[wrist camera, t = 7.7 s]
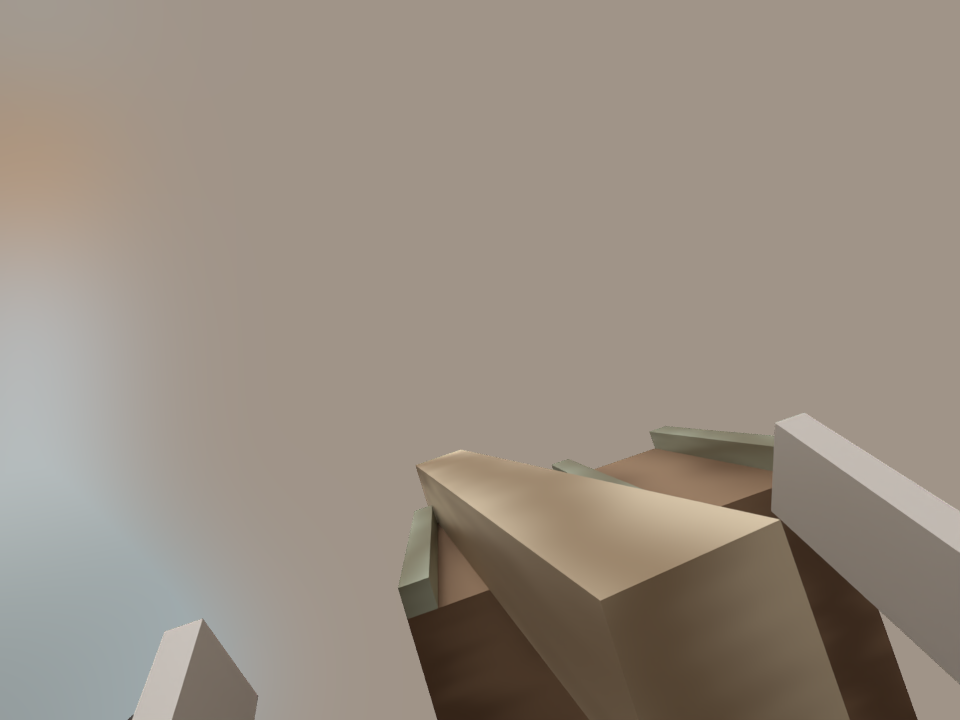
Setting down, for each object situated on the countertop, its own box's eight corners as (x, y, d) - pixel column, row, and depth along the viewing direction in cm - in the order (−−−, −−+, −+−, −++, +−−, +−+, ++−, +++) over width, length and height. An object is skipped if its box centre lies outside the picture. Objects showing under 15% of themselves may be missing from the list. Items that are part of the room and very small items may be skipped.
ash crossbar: (674, 830, 7) (600, 600, 7) (429, 512, 32) (415, 465, 32) (851, 724, 7) (779, 520, 8) (475, 495, 32) (461, 449, 33)
